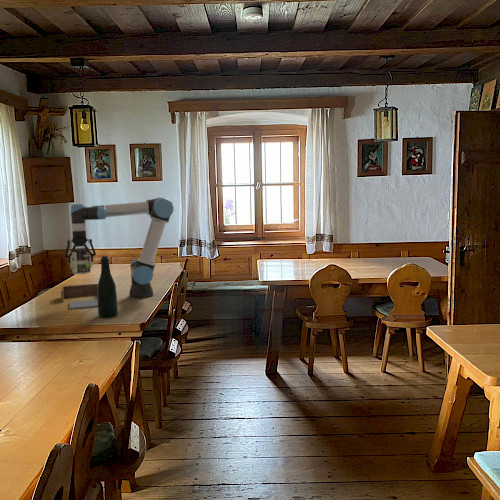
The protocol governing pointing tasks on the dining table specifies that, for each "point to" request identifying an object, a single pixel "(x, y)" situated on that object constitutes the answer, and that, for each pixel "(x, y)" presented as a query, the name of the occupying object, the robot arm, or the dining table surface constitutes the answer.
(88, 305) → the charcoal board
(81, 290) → the walnut u-shaped frame
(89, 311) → the dining table surface
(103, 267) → the green wine bottle
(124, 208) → the robot arm
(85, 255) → the coffee can
